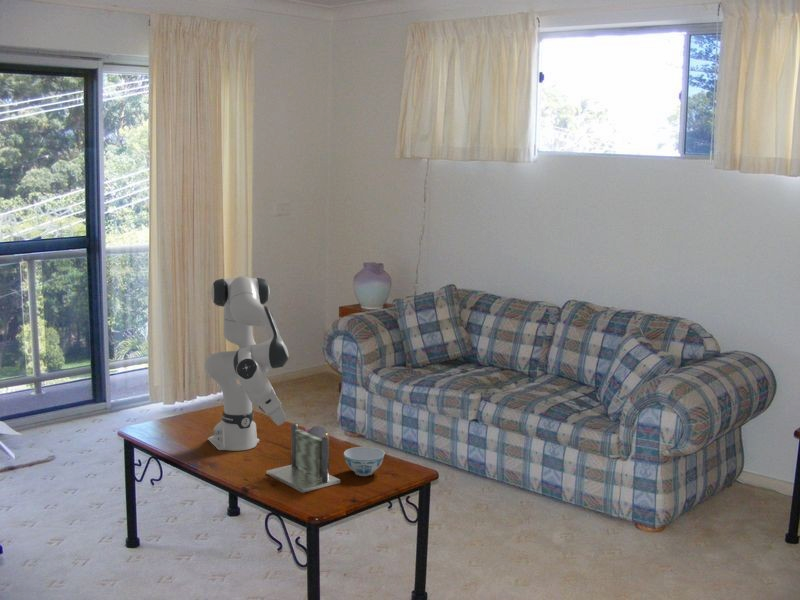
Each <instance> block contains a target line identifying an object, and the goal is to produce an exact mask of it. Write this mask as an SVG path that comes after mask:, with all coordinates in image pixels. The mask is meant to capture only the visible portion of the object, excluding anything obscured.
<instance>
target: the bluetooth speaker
mask: <svg viewBox="0 0 800 600" xmlns="http://www.w3.org/2000/svg"><path fill="white" fill-rule="evenodd" d="M310 428H311V427H310ZM308 433H309V434H311V435H314V436H316V437H318V438H320V439H322V437H323V434H324V433H327V434H328V437H329V438H330V436H329V433H328V431H327V429H325V427H323V426H322V425H315V426H312V428H311V429H310V430H309V431H308Z"/></svg>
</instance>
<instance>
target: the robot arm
mask: <svg viewBox="0 0 800 600" xmlns="http://www.w3.org/2000/svg"><path fill="white" fill-rule="evenodd" d="M270 291H271V288H270V285H269V284H268V280H266V279H265V278H261V277H257V278H255V277H250V276H246V275H245V276H244V275H242V276H237V277H233V278H225V279H224V278H218V279H216V280H215V281H214V282H213V283H212V285H211V288H210V296H211V299H212V302H213V304H214V305H215V306H219V307H222V308H223V336H224V338H225V339H226V341H228V342H230V343H231V344H234V345H236V346H237V347H238V349H237V350H230V351H229V350H228V351H218V352H214V353H212V354H211V353H210V354H209V355H208V356H207V357H206V359H205V360H204V371H205V373H206V375H207V376H208V377H209V378H210V379H211V380H213V381H214V382H215V383H216V384H217V385H218V386H219V388H220V389H221V392H222V396H223V406H224V407H223V411H221V415H222V416H221V420H220V421H219V422H218V423H217V424H215V426H214V427H213V431H212V436H209V437H208V438H207V441H208V440H209V441H210V442H211V443H212V444H213V445H214V446H215V447H216V448H217V449H218V450H217V449H216V448H215V447H214V446H213V445H212V444H211V443H210V442H209V441H208V442H209V443H210V444H211V445H212V446H213V447H214V448H215V449H216V450H217V451H233V452H234V451H235V452H236V451H238V452H239V451H246V450H251V449H253V448H255V447H257V444H258V443H260V442H259V441H260V439H259V438H258V437H257V436H258V434H257V424H256V422H255V421H254V410H253V405H254V406H256V407H257V408H258V409H260V410H261V411H262V412H263V414H265V415H266V416H269V418H270V419H271V420H272V421H273V423H275V425H276V426H281V425H283V424H284V423H285V422H286V421H287V417H286V414H285V413H284V412H285V411H284V410H283V408H282V402H281V400H280V399H279V398H278V396H277V394H276V392H275V389H274V387H273V386H272V384H271V382H270V381H269V379H268V378H267V373H268V371H269V370H271V369H278V368H283V367H285V365H286V364H287V362H288V361H289V360H290V359H289V356H290V355H289V351H288V347H287V345H286V344H285V342H284V341H283V338H282V336H281V333H280V331H279V328H278V325H277V322H276V320H275V317H274V316H273V313H272V312H271V309H270V308H269V307H268V306H266V305H265V304H266V303H267V302H268V301H269V298H270V295H271V292H270ZM253 327H262V328H265V329H266V333H267V335H268V338H269V339H267V340H266V341H263V342H260V343H256V340H255V338H254V331H253ZM237 379H238V380H237ZM237 381H238V382H239V383H238V382H237Z"/></svg>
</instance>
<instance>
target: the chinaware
mask: <svg viewBox="0 0 800 600" xmlns="http://www.w3.org/2000/svg"><path fill="white" fill-rule="evenodd" d="M343 457H344V460H345V462H346V465H347V466H348V467H349V468H350V470H352V471H353V472H354V474H355V475H356V476H358V475H359V476H360V477H368V476H369V475H370V476H372V475H373V474H374V472H375V471H376V470H377V469H379V468H380V467H381V465H382V463H383V461H384V459H385V458H384V457H385V451H384V450H383V449H380V448H378V447H373V446H356V447H351V448H348V449H346V450H344V452H343Z"/></svg>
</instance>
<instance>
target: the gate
mask: <svg viewBox="0 0 800 600" xmlns="http://www.w3.org/2000/svg"><path fill="white" fill-rule="evenodd" d="M295 435H296V466H297V467H299V468H301V469H303V470H305V471H307V472H309V473H311V474H313V475H315V476H316V477H318V478H321V477H322V439H320V438H318V437H316V436H314V435H311V434H309V433H307V432H304V431H302V429H300V428H298V430H295Z"/></svg>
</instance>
